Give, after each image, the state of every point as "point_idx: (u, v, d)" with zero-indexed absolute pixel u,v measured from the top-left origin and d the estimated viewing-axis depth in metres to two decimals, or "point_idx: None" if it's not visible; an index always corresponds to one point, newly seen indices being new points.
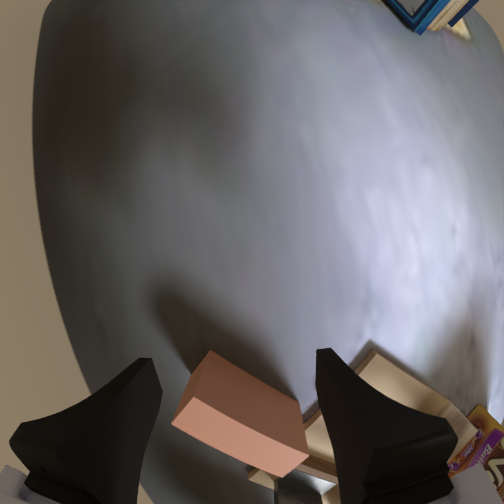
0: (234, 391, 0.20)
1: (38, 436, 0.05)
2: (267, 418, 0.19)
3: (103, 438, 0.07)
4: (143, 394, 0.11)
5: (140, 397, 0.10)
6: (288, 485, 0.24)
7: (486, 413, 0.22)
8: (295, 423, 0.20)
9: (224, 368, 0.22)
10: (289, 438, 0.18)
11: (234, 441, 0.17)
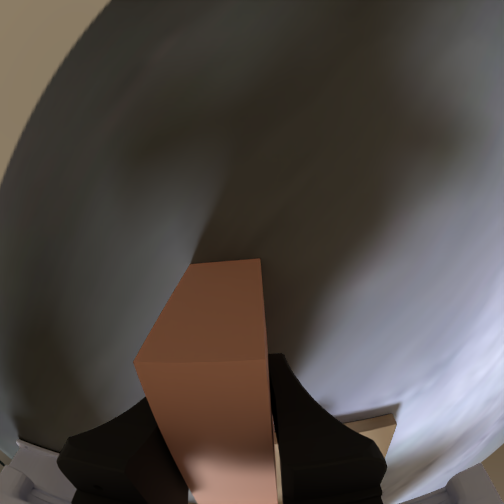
0: None
1: (96, 451, 0.05)
2: (273, 438, 0.10)
3: (162, 446, 0.07)
4: None
5: None
6: None
7: None
8: None
9: None
10: (276, 484, 0.09)
11: (219, 463, 0.07)
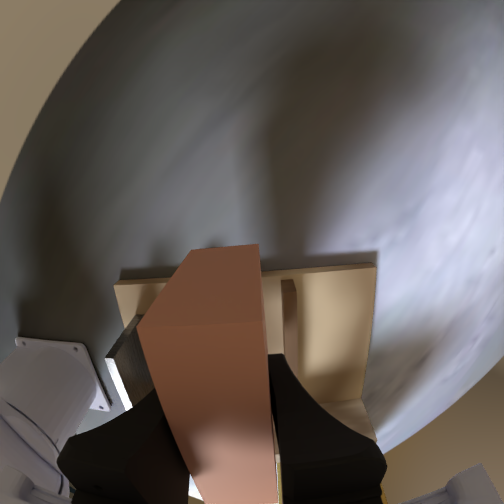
0: None
1: (96, 452, 0.05)
2: None
3: (161, 446, 0.07)
4: None
5: None
6: None
7: None
8: None
9: None
10: (275, 466, 0.10)
11: (217, 437, 0.08)
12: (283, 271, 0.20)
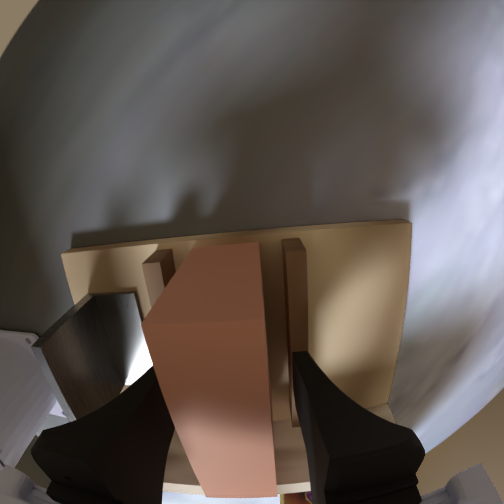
0: None
1: (65, 444, 0.05)
2: None
3: (131, 442, 0.07)
4: None
5: (163, 398, 0.10)
6: (100, 319, 0.14)
7: None
8: (273, 432, 0.12)
9: (262, 287, 0.13)
10: None
11: (219, 431, 0.08)
12: (286, 229, 0.14)
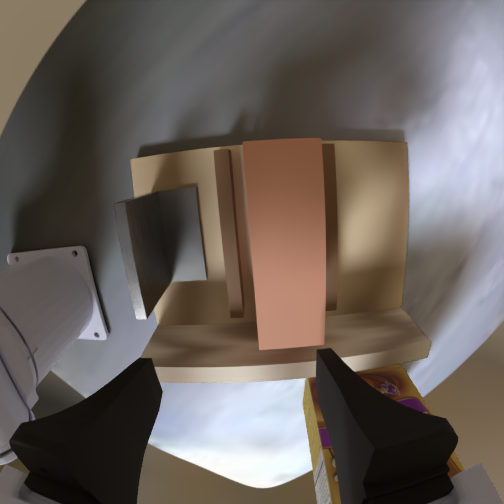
0: None
1: (38, 436, 0.05)
2: None
3: (103, 438, 0.07)
4: (143, 394, 0.11)
5: (140, 397, 0.10)
6: (160, 213, 0.18)
7: (408, 377, 0.21)
8: None
9: None
10: None
11: (285, 241, 0.12)
12: None
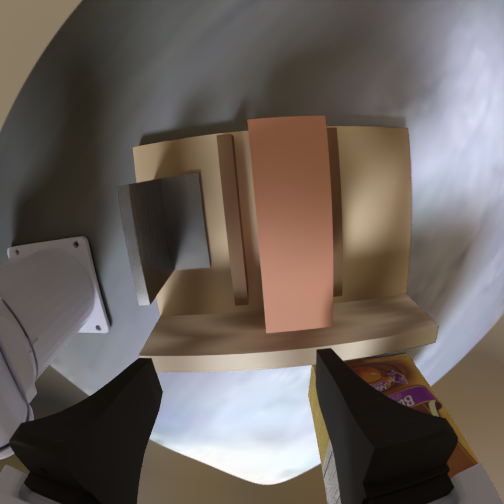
0: None
1: (38, 436, 0.05)
2: None
3: (103, 438, 0.07)
4: (143, 394, 0.11)
5: (140, 397, 0.10)
6: (163, 200, 0.18)
7: (415, 366, 0.21)
8: None
9: None
10: None
11: (292, 218, 0.12)
12: None
